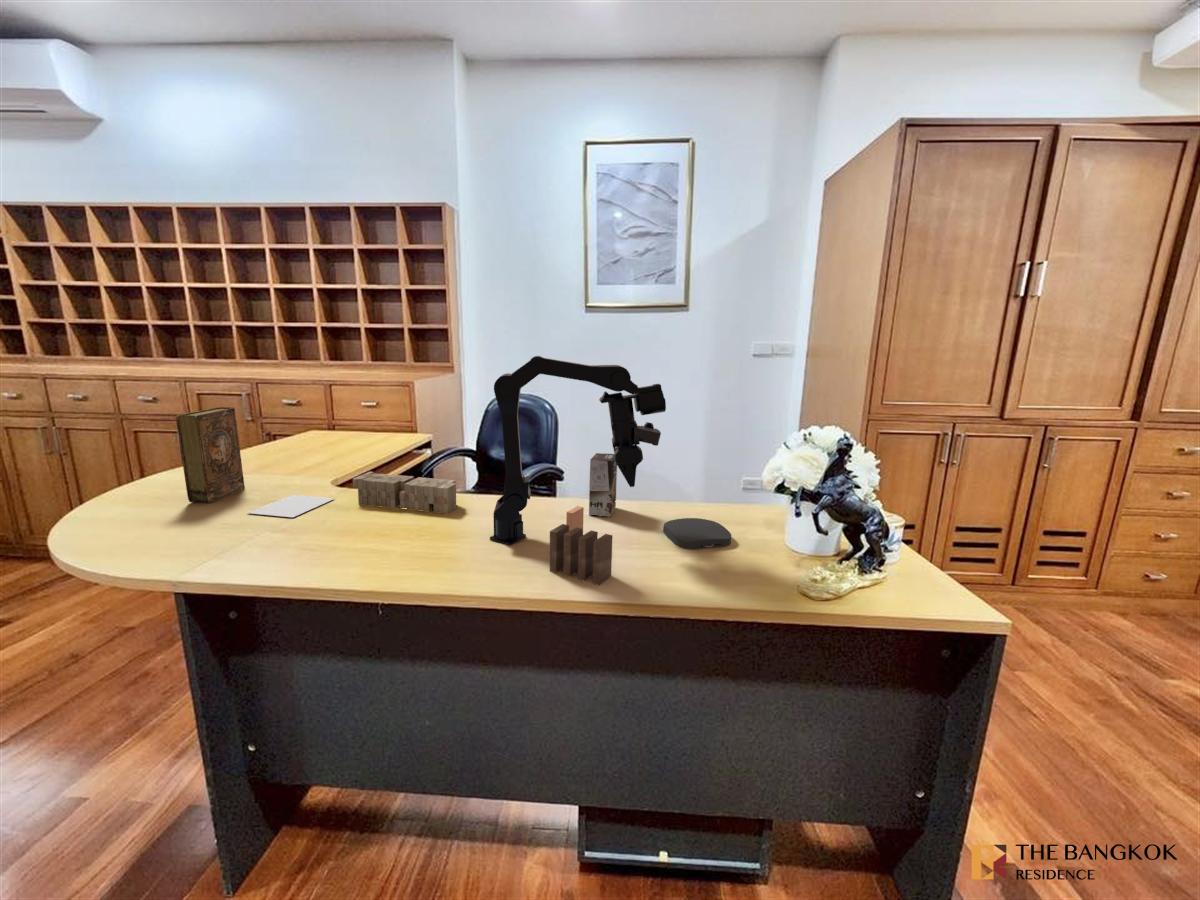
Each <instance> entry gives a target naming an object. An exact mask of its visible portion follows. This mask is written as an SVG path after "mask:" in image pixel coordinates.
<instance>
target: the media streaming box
mask: <svg viewBox="0 0 1200 900" xmlns="http://www.w3.org/2000/svg"><path fill="white" fill-rule="evenodd" d="M662 527H663V531H662V533H663V532H664V533H663V534H664V535H665V536H666V537H667V538H668V539H669V541H671V542H672V543H673V544H674V545H675V546H677V547H678V548H681V549H684V550H685V549H686V550H704V549H713V548H714V549H715V548H716V549H717V548H724V547H728V546H730V545H731V542H732V533H731V532H730V531H729V530H728V529H727V528H726V527H725V526H724V525H722V524H720V523H719V522H716V521H715V520H711V519H710V520H709V519H704V518H698V517H697V518H696V517H686V518H685V517H684V518H675V519H670V520H668V521H666V522H664V523H663V526H662Z"/></svg>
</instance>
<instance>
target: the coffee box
mask: <svg viewBox="0 0 1200 900" xmlns="http://www.w3.org/2000/svg"><path fill="white" fill-rule="evenodd" d="M589 460H590V461H589V465H590V466H589V494H588V495H589V498H588V499H589V500H588V516H591V515H601V516H612V515H613V513H614V511H615V509H616V508H615V507H617V506H616V505H617V480H618V479H617V477H618V473H617V472H618V466H617V464H616V461H615V454H614V453H606V452H605V453H600V452H599V453H598V452H597V453H595V454H594V455H593V456H592V457H591V458H590V459H589ZM615 501H616V502H615ZM613 510H614V511H613ZM612 512H613V513H612ZM611 514H612V515H611ZM601 516H600V517H601Z"/></svg>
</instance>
